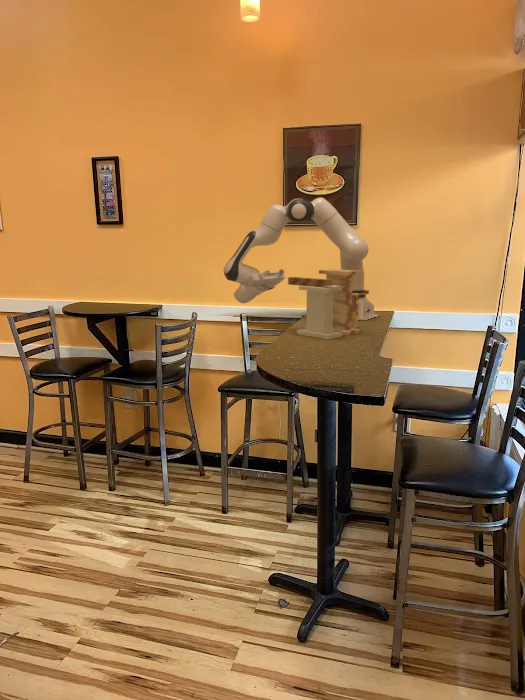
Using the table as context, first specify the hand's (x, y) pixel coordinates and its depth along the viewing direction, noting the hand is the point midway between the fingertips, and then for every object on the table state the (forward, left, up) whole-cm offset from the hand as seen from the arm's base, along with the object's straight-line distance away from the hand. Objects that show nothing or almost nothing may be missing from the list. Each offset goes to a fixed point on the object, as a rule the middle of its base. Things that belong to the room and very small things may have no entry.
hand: (275, 271), depth 243 cm
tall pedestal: (-6, +33, -24) cm, 41 cm away
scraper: (+6, +29, -4) cm, 30 cm away
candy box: (-17, +29, -25) cm, 41 cm away
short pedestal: (+6, +33, -24) cm, 41 cm away
